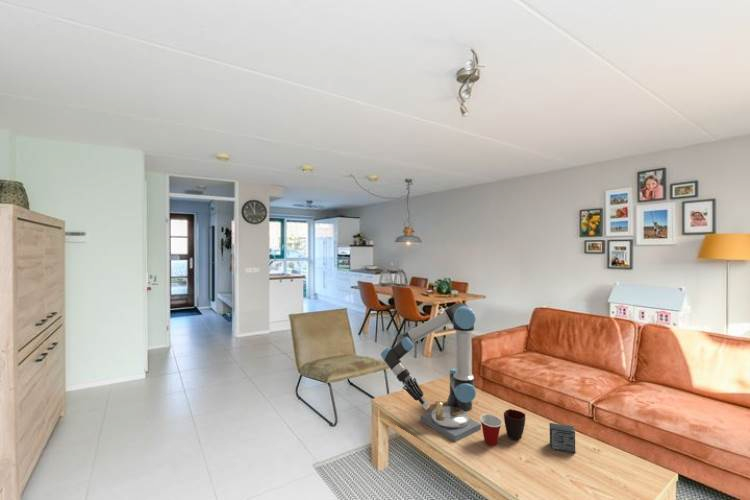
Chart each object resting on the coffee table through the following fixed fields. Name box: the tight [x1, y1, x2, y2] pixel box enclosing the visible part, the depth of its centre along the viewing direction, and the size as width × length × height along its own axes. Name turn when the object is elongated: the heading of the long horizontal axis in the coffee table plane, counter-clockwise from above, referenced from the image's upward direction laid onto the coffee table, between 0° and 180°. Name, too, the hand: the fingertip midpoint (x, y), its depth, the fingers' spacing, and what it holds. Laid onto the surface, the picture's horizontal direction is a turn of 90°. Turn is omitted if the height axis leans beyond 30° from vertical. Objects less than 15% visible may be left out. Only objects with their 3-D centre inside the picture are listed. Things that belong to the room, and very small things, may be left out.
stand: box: [419, 410, 482, 443], centre depth 193 cm, size 26×20×3 cm
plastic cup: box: [479, 413, 503, 447], centre depth 176 cm, size 11×11×12 cm
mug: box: [503, 408, 526, 442], centre depth 182 cm, size 10×14×12 cm
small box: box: [549, 422, 576, 454], centre depth 171 cm, size 11×6×10 cm, turn 71°
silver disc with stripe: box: [431, 400, 470, 429], centre depth 193 cm, size 20×20×11 cm
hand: (428, 408), depth 192 cm, fingers closed
